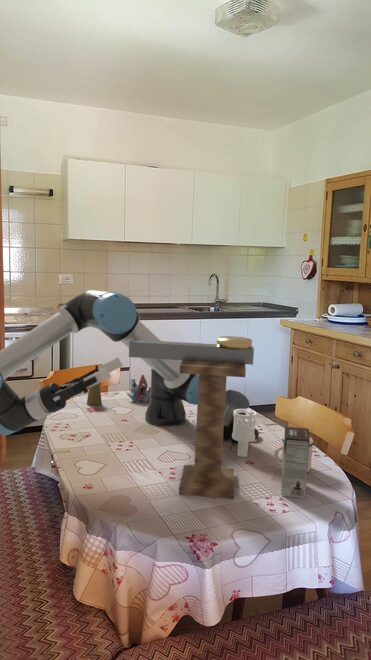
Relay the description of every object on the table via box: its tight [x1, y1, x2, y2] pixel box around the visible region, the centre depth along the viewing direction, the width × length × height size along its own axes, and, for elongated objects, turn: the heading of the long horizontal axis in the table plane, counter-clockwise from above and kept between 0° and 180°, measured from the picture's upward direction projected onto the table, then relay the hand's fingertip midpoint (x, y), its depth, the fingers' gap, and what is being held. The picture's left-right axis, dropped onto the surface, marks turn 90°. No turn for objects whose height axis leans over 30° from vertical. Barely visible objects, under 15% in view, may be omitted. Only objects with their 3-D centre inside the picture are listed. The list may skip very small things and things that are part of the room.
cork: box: [86, 382, 102, 407], centre depth 203 cm, size 6×6×11 cm
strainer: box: [232, 408, 257, 458], centre depth 156 cm, size 7×7×15 cm
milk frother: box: [223, 389, 260, 445], centre depth 169 cm, size 14×16×15 cm
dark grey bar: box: [128, 335, 255, 366], centre depth 131 cm, size 32×9×6 cm, turn 85°
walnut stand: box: [178, 360, 247, 500], centre depth 133 cm, size 16×16×34 cm
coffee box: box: [280, 426, 310, 499], centre depth 133 cm, size 9×6×16 cm
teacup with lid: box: [273, 435, 315, 473], centre depth 148 cm, size 12×9×12 cm
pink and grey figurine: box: [126, 374, 151, 403], centre depth 212 cm, size 11×11×12 cm
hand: (114, 366), depth 134 cm, fingers open, 13 cm apart
